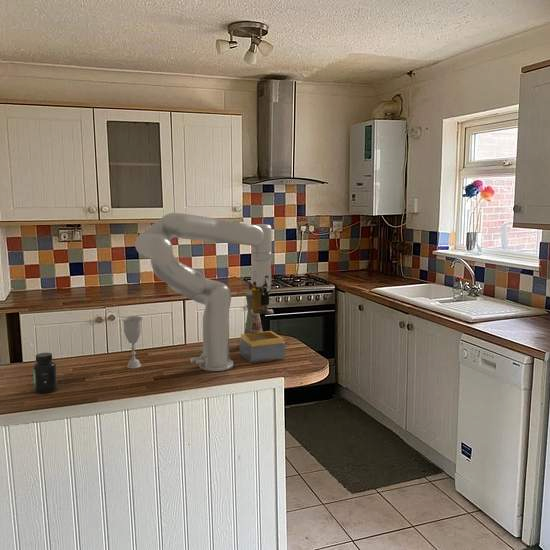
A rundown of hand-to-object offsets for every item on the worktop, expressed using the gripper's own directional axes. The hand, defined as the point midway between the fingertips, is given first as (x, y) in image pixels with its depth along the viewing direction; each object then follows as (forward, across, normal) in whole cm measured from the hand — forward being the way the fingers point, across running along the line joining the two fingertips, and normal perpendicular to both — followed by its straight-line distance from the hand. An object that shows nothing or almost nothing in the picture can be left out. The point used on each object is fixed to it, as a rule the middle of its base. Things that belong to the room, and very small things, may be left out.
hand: (261, 302), depth 207 cm
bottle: (+22, -14, +2) cm, 26 cm away
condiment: (+4, 0, 0) cm, 4 cm away
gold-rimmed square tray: (+21, 0, +1) cm, 21 cm away
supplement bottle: (+22, +7, -78) cm, 81 cm away
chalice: (+22, -7, -48) cm, 53 cm away
